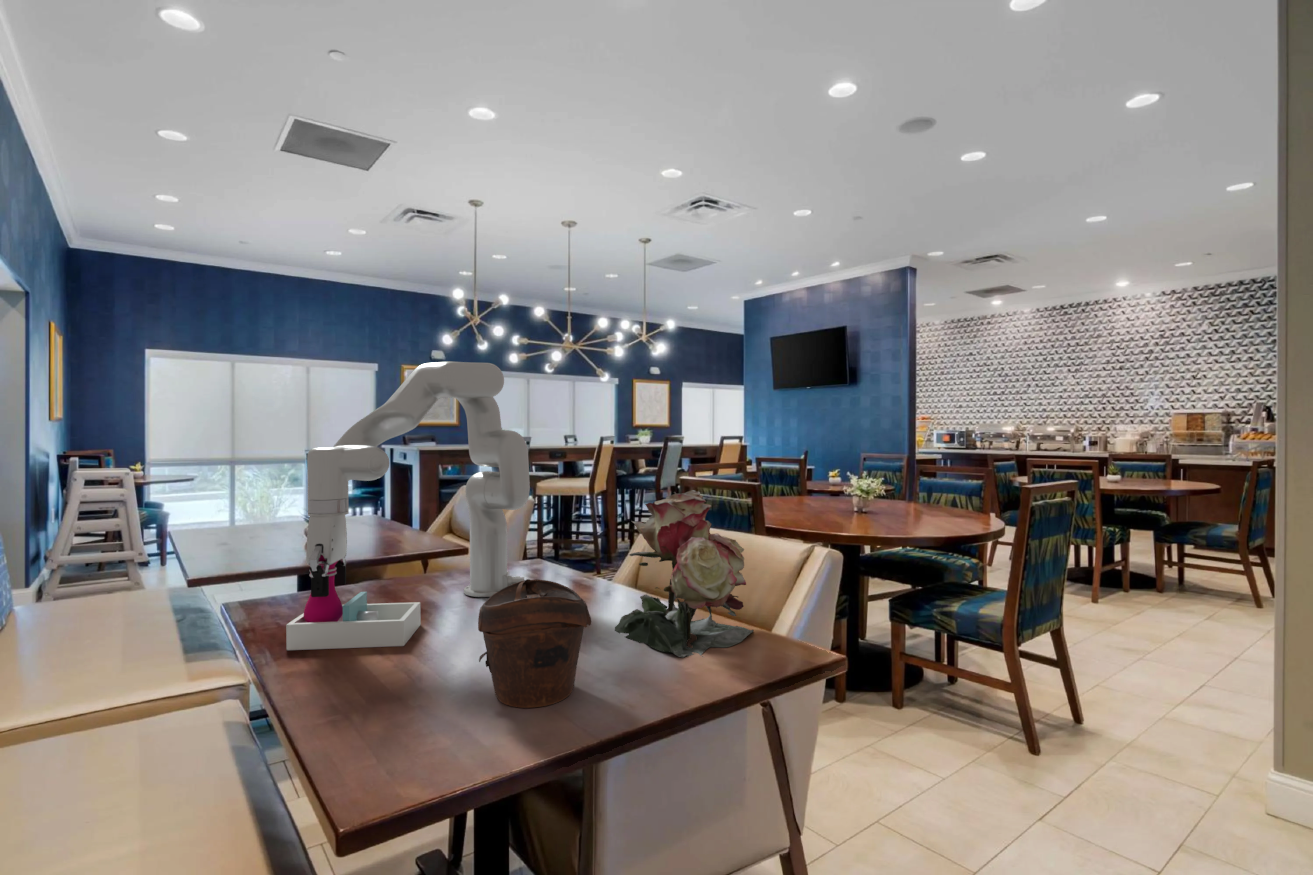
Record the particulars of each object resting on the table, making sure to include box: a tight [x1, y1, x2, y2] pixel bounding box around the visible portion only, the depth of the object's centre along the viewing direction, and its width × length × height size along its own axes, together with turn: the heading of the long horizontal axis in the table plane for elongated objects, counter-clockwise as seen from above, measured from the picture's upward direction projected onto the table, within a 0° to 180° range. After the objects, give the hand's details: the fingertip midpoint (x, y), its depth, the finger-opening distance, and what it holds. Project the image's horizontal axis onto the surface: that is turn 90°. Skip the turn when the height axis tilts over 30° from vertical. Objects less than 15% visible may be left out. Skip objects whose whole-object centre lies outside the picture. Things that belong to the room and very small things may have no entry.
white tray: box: [285, 601, 421, 651], centre depth 137 cm, size 22×14×5 cm, turn 97°
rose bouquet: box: [614, 489, 755, 658], centre depth 140 cm, size 26×29×30 cm
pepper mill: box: [303, 552, 343, 623], centre depth 136 cm, size 7×7×20 cm
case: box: [477, 578, 592, 709], centre depth 109 cm, size 18×20×18 cm
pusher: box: [342, 591, 378, 621], centre depth 138 cm, size 5×11×7 cm, turn 7°
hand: (329, 590), depth 137 cm, fingers open, 9 cm apart
